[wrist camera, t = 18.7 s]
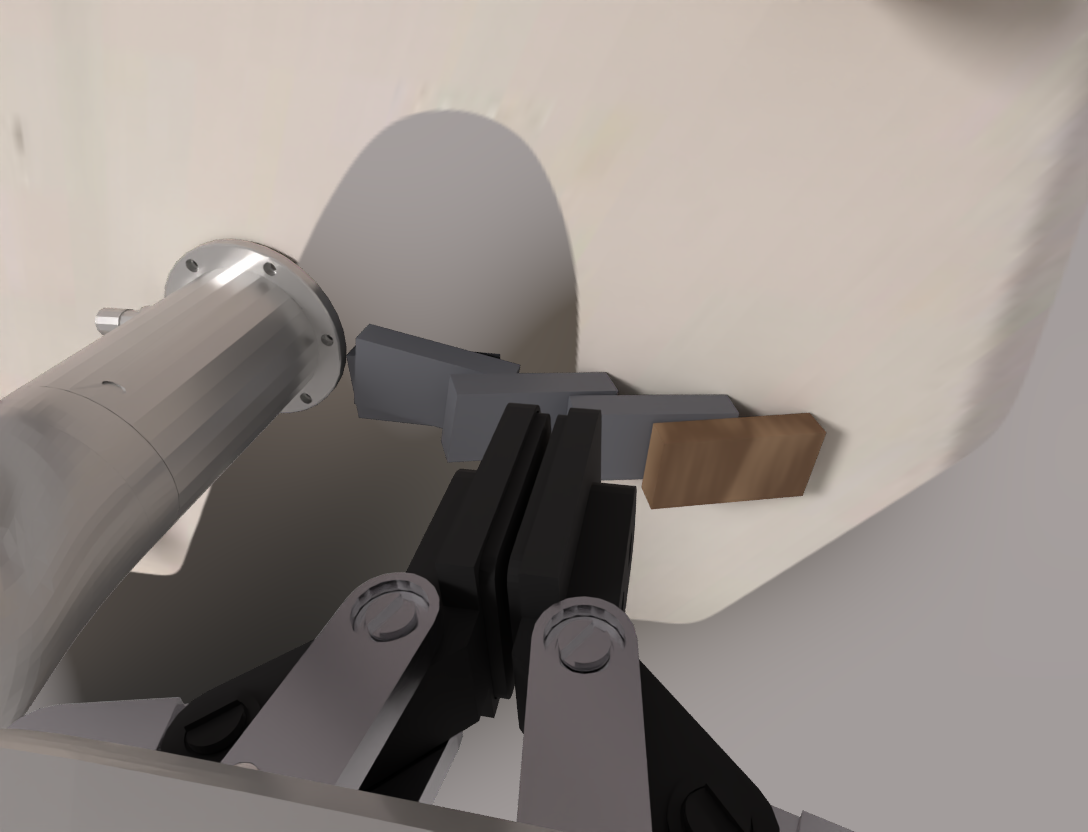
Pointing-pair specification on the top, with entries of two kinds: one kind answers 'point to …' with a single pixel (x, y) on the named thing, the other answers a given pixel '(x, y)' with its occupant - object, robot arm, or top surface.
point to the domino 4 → (643, 424)
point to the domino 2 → (413, 373)
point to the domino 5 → (730, 459)
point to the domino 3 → (487, 395)
